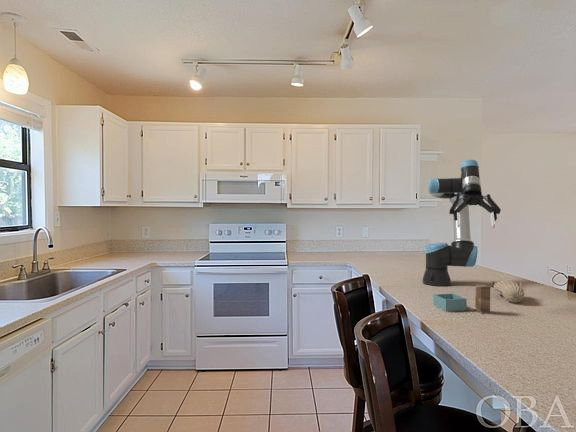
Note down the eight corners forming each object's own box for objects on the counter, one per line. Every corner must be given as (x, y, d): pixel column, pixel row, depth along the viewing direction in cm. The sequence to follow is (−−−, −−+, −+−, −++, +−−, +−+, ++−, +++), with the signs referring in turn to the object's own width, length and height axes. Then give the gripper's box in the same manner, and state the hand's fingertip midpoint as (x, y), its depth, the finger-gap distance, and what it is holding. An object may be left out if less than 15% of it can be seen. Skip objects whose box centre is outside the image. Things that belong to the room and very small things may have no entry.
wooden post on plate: (474, 310, 151) (474, 285, 150) (483, 310, 151) (483, 284, 151) (481, 313, 146) (481, 287, 146) (491, 313, 147) (491, 287, 147)
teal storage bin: (433, 305, 159) (433, 294, 159) (452, 304, 161) (452, 293, 160) (445, 311, 150) (445, 300, 150) (466, 310, 151) (466, 298, 151)
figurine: (484, 289, 189) (502, 304, 160) (484, 273, 188) (502, 285, 160) (509, 290, 186) (531, 306, 157) (509, 274, 185) (531, 287, 156)
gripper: (443, 183, 166) (445, 221, 155) (503, 181, 157) (510, 221, 146) (442, 193, 172) (444, 230, 161) (501, 192, 163) (507, 231, 152)
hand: (475, 226), depth 154 cm, fingers open, 13 cm apart
